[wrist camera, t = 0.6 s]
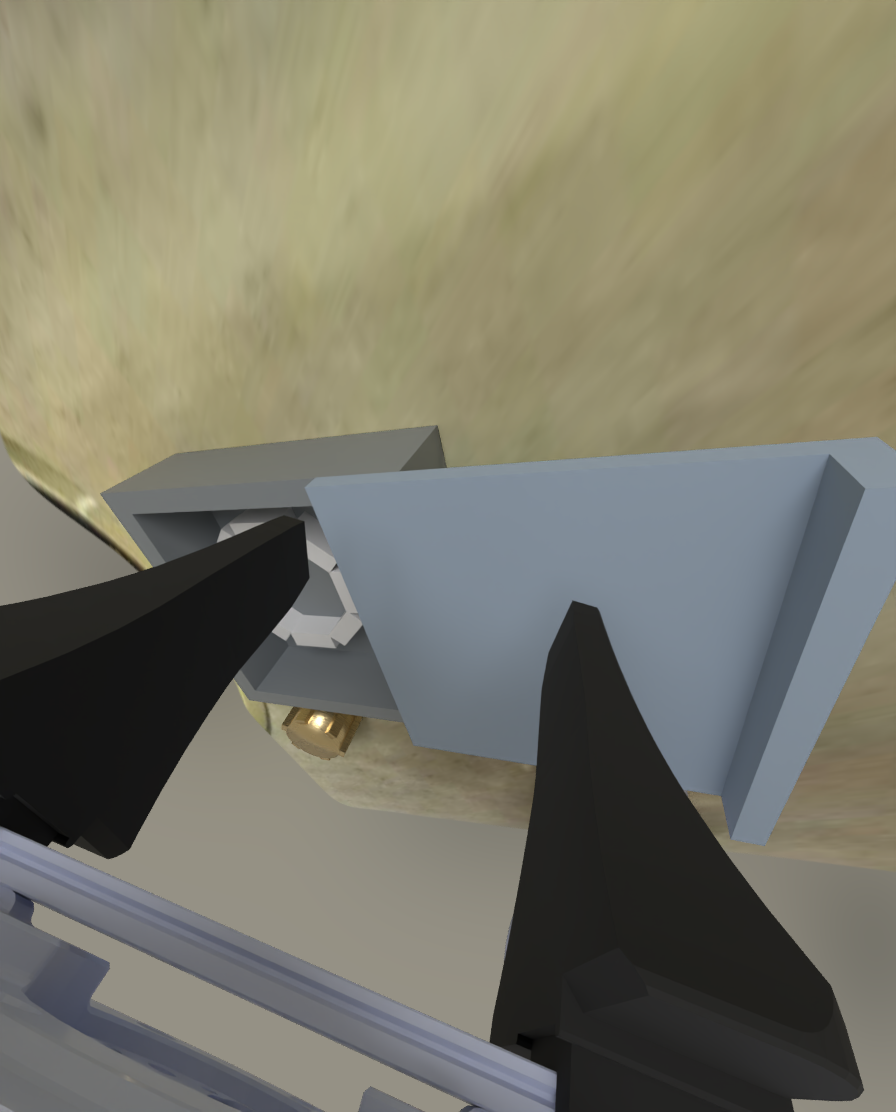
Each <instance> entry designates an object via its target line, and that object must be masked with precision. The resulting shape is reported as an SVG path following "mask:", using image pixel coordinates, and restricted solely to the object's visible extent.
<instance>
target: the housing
mask: <svg viewBox="0 0 896 1112" xmlns="http://www.w3.org/2000/svg"><path fill="white" fill-rule="evenodd" d="M440 468H446V463H445V459H444V454H443V449H442V445H441V440H440V435H439V430H438V426H437V425H436V426H427V427H417V428H408V429H399V430H390V431H381V432H371V433H362V434H353V435H344V436H335V437H325V438H316V439H307V440H298V441H289V442H279V443H270V444H261V445H252V446H243V447H233V448H224V449H215V450H206V451H197V452H188V453H178V454H174V455H172V456H170V457H168V458H167V459H165V460H163V461H161V462H159V463H157V464H155V465H153V466H151V467H149V468H148V469H146V470H144V471H142V472H140V473H138V474H136V475H134V476H132V477H131V478H129V479H127V480H125V481H123V482H121V483H119V484H117V485H115V486H113V487H112V488H110V489H108V490H106V491H104V492H102V493H100V494H101V496H102V497H103V499H104V500H105V501H106V503H107V504H108V505H109V507H110V508H111V510H112V511H113V512H114V514H115V515H116V517H117V518H118V519H119V521H120V522H121V523H122V525H123V526H124V528H125V529H126V530H127V532H128V533H129V534H130V536H131V537H132V539H133V540H134V541H135V543H136V544H137V546H138V547H139V548H140V550H141V551H142V552H143V554H144V555H145V557H146V558H147V559H148V561H149V562H150V563H151V565H152V566H153V567H155V566H158V565H161V564H164V563H167V562H169V561H172V560H174V559H177V558H180V557H182V556H185V555H188V554H190V553H193V552H196V551H198V550H201V549H203V548H206V547H208V546H211V545H213V544H215V543H218V542H220V541H222V540H225V539H227V538H230V537H232V536H234V535H237V534H239V533H241V532H244V531H246V530H248V529H251V528H253V527H255V526H258V525H260V524H262V523H265V522H267V521H270V520H272V519H275V518H278V517H280V516H283V515H285V516H289V517H292V518H295V519H299V520H302V521H305V532H306V543H307V554H308V565H309V576H310V578H309V580H308V582H307V583H306V585H305V587H304V588H303V590H302V592H301V593H300V595H299V596H298V598H297V600H296V601H295V603H294V604H293V606H292V607H291V609H290V610H289V611H288V612H287V614H286V615H285V616H284V617H283V619H282V620H281V621H280V622H279V623H278V625H277V626H276V627H275V628H274V630H273V631H272V632H271V633H270V634H269V636H268V637H267V638H266V639H265V640H264V642H263V643H262V644H261V645H260V646H259V648H258V649H257V650H256V651H255V652H254V654H253V655H252V656H251V657H250V658H249V660H248V661H247V662H246V663H245V664H244V666H243V667H242V668H241V669H240V670H239V672H238V673H237V674H236V675H235V677H234V680H235V681H236V682H237V684H238V685H239V686H240V688H241V689H242V691H243V692H244V693H245V695H246V696H247V698H248V699H249V700H252V701H259V702H266V703H273V704H280V705H287V706H294V707H301V708H307V709H314V710H321V711H328V712H335V713H342V714H349V715H356V716H363V717H369V718H376V719H383V720H390V721H397V722H404V721H403V719H402V717H401V714H400V712H399V710H398V707H397V705H396V702H395V700H394V698H393V695H392V693H391V691H390V688H389V686H388V684H387V681H386V679H385V676H384V674H383V672H382V669H381V667H380V665H379V662H378V660H377V658H376V655H375V653H374V650H373V648H372V646H371V643H370V641H369V639H368V636H367V634H366V632H365V629H364V627H363V624H362V622H361V620H360V617H359V615H358V613H357V610H356V608H355V606H354V603H353V601H352V598H351V596H350V594H349V591H348V589H347V587H346V584H345V582H344V580H343V577H342V575H341V572H340V570H339V568H338V565H337V563H336V561H335V558H334V556H333V554H332V551H331V549H330V546H329V544H328V542H327V539H326V537H325V535H324V532H323V530H322V527H321V525H320V523H319V520H318V518H317V516H316V513H315V511H314V509H313V506H312V504H311V501H310V499H309V497H308V494H307V492H306V490H305V487H306V486H307V485H308V484H309V483H310V482H311V481H312V480H314V479H315V478H316V477H330V476H344V475H357V474H371V473H385V472H399V471H413V470H427V469H440Z"/></svg>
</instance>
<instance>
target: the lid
mask: <svg viewBox="0 0 896 1112" xmlns="http://www.w3.org/2000/svg"><path fill="white" fill-rule="evenodd" d="M305 490H306V492H307V494H308V497H309V499H310V501H311V504H312V506H313V509H314V511H315V513H316V516H317V518H318V520H319V523H320V525H321V527H322V530H323V532H324V535H325V537H326V539H327V542H328V544H329V546H330V549H331V551H332V554H333V556H334V558H335V561H336V563H337V565H338V568H339V570H340V572H341V575H342V577H343V580H344V582H345V584H346V587H347V589H348V591H349V594H350V596H351V598H352V601H353V603H354V606H355V608H356V610H357V613H358V615H359V617H360V620H361V622H362V624H363V627H364V629H365V632H366V634H367V636H368V639H369V641H370V643H371V646H372V648H373V650H374V653H375V655H376V658H377V660H378V662H379V665H380V667H381V669H382V672H383V674H384V676H385V679H386V681H387V684H388V686H389V688H390V691H391V693H392V695H393V698H394V700H395V702H396V705H397V707H398V710H399V712H400V714H401V717H402V719H403V721H404V724H405V726H406V728H407V731H408V733H409V736H410V738H411V740H412V743H413V745H414V746H420V747H426V748H432V749H438V750H444V751H450V752H456V753H462V754H469V755H475V756H481V757H487V758H493V759H499V760H505V761H511V762H517V763H524V764H530V765H536V766H537V750H538V734H539V718H540V704H541V690H542V684H543V678H544V673H545V667H546V662H547V657H548V652H549V650H550V648H551V646H552V644H553V641H554V639H555V637H556V635H557V633H558V631H559V628H560V626H561V624H562V622H563V620H564V618H565V615H566V613H567V611H568V609H569V607H570V604H571V602H572V600H573V601H577V602H580V603H584V604H587V605H590V606H594V607H597V608H598V610H599V611H600V614H601V617H602V620H603V623H604V626H605V629H606V631H607V634H608V637H609V640H610V643H611V645H612V648H613V651H614V653H615V656H616V658H617V661H618V663H619V666H620V668H621V671H622V673H623V675H624V678H625V680H626V682H627V685H628V687H629V689H630V692H631V694H632V696H633V698H634V700H635V703H636V705H637V707H638V709H639V711H640V713H641V715H642V717H643V719H644V721H645V723H646V725H647V727H648V729H649V731H650V733H651V735H652V737H653V739H654V741H655V742H656V744H657V746H658V748H659V750H660V751H661V753H662V755H663V757H664V758H665V760H666V762H667V764H668V765H669V767H670V769H671V771H672V772H673V774H674V776H675V777H676V779H677V780H678V782H679V784H680V785H681V787H682V789H683V790H688V791H694V792H701V793H707V794H713V795H719V796H721V797H722V802H723V806H724V811H725V816H726V820H727V825H728V829H729V834H730V839H731V840H736V841H742V842H747V843H752V844H757V845H762V846H765V844H766V842H767V840H768V838H769V836H770V834H771V832H772V830H773V828H774V826H775V824H776V822H777V820H778V818H779V816H780V814H781V812H782V810H783V808H784V806H785V804H786V802H787V800H788V798H789V796H790V794H791V791H792V789H793V787H794V785H795V783H796V781H797V779H798V777H799V775H800V773H801V771H802V769H803V767H804V765H805V763H806V761H807V759H808V757H809V755H810V753H811V751H812V749H813V747H814V745H815V743H816V741H817V739H818V737H819V735H820V733H821V731H822V729H823V727H824V725H825V723H826V720H827V718H828V716H829V714H830V712H831V710H832V708H833V706H834V704H835V702H836V700H837V698H838V696H839V694H840V692H841V690H842V688H843V686H844V684H845V682H846V680H847V678H848V676H849V674H850V672H851V670H852V668H853V666H854V664H855V662H856V660H857V658H858V656H859V654H860V652H861V649H862V647H863V645H864V643H865V641H866V639H867V637H868V635H869V633H870V631H871V629H872V627H873V625H874V623H875V621H876V619H877V617H878V615H879V613H880V611H881V609H882V607H883V605H884V603H885V601H886V599H887V597H888V595H889V593H890V591H891V589H892V587H893V585H894V583H895V581H896V451H895V450H894V449H893V448H891V447H890V446H889V445H887V444H886V443H885V442H883V441H882V440H881V439H879V438H878V437H869V438H856V439H842V440H828V441H814V442H800V443H786V444H773V445H759V446H745V447H731V448H717V449H703V450H690V451H676V452H662V453H648V454H634V455H620V456H607V457H593V458H579V459H565V460H551V461H537V462H524V463H510V464H496V465H482V466H468V467H454V468H440V469H427V470H413V471H399V472H385V473H371V474H357V475H344V476H330V477H316V478H315V479H314V480H312V481H311V482H310V483H309V484H308V485H307V486H306V487H305Z"/></svg>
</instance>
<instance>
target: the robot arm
mask: <svg viewBox="0 0 896 1112" xmlns="http://www.w3.org/2000/svg"><path fill="white" fill-rule="evenodd" d="M309 578H310V576H309V565H308V554H307V543H306V532H305V521H302V520H299V519H295V518H292V517H289V516H285V515H283V516H280V517H278V518H275V519H272V520H270V521H267V522H265V523H262V524H260V525H258V526H255V527H253V528H251V529H248V530H246V531H244V532H241V533H239V534H237V535H234V536H232V537H230V538H227V539H225V540H222V541H220V542H218V543H215V544H213V545H211V546H208V547H206V548H203V549H201V550H198V551H196V552H193V553H190V554H188V555H185V556H182V557H180V558H177V559H174V560H172V561H169V562H167V563H164V564H161V565H158V566H155V567H153V568H150V569H147V570H144V571H141V572H137V573H135V574H131V575H128V576H124V577H121V578H118V579H114V580H111V581H108V582H104V583H100V584H97V585H92V586H88V587H84V588H81V589H76V590H72V591H68V592H64V593H60V594H56V595H52V596H48V597H43V598H39V599H34V600H29V601H24V602H19V603H14V604H8V605H3V606H0V1112H325V1111H323V1110H321V1109H319V1108H317V1107H315V1106H313V1105H311V1104H309V1103H307V1102H305V1101H304V1100H302V1099H299V1098H298V1097H296V1096H294V1095H292V1094H290V1093H288V1092H286V1091H284V1090H282V1089H280V1088H278V1087H276V1086H274V1085H272V1084H271V1083H269V1082H266V1081H264V1080H262V1079H261V1078H258V1077H257V1076H254V1075H252V1074H251V1073H249V1072H246V1071H244V1070H242V1069H240V1068H238V1067H236V1066H234V1065H232V1064H230V1063H228V1062H226V1061H224V1060H222V1059H220V1058H217V1057H215V1056H213V1055H211V1054H209V1053H207V1052H205V1051H203V1050H201V1049H198V1048H196V1047H194V1046H192V1045H190V1044H188V1043H186V1042H184V1041H181V1040H179V1039H177V1038H175V1037H173V1036H170V1035H168V1034H166V1033H164V1032H162V1031H160V1030H158V1029H155V1028H153V1027H151V1026H149V1025H147V1024H145V1023H142V1022H140V1021H138V1020H136V1019H134V1018H132V1017H129V1016H127V1015H125V1014H123V1013H121V1012H119V1011H116V1010H114V1009H112V1008H110V1007H108V1006H105V1005H103V1004H101V1003H99V1002H97V1001H95V1000H93V999H91V997H92V995H93V993H94V992H95V990H96V988H97V987H98V985H99V984H100V983H101V981H102V979H103V978H104V977H105V975H106V973H107V972H108V970H109V969H110V965H109V964H110V963H109V962H107V961H105V960H103V959H101V958H99V957H97V956H95V955H93V954H91V953H89V952H87V951H85V950H83V949H80V948H78V947H76V946H74V945H72V944H70V943H68V942H65V941H63V940H61V939H59V938H57V937H55V936H53V935H51V934H48V933H46V932H44V931H42V930H40V929H38V928H35V927H34V926H33V925H32V923H31V917H32V914H33V912H34V903H33V902H32V901H34V902H36V903H38V904H40V905H42V906H44V907H47V908H49V909H51V910H53V911H56V912H57V913H59V914H62V915H64V916H66V917H68V918H70V919H72V920H75V921H77V922H79V923H81V924H83V925H85V926H88V927H90V928H92V929H94V930H96V931H98V932H100V933H103V934H105V935H107V936H109V937H111V938H113V939H115V940H118V941H120V942H122V943H124V944H126V945H128V946H130V947H133V948H135V949H137V950H139V951H141V952H144V953H146V954H148V955H150V956H152V957H154V958H156V959H158V960H161V961H163V962H165V963H167V964H169V965H171V966H174V967H176V968H178V969H180V970H182V971H184V972H187V973H189V974H191V975H193V976H195V977H197V978H199V979H202V980H204V981H206V982H208V983H210V984H212V985H214V986H217V987H219V988H221V989H223V990H225V991H227V992H229V993H232V994H234V995H236V996H238V997H240V998H242V999H245V1000H247V1001H249V1002H251V1003H253V1004H255V1005H258V1006H260V1007H262V1008H264V1009H266V1010H268V1011H270V1012H273V1013H275V1014H277V1015H279V1016H281V1017H283V1018H286V1019H288V1020H290V1021H292V1022H294V1023H296V1024H298V1025H300V1026H303V1027H305V1028H307V1029H309V1030H311V1031H313V1032H315V1033H318V1034H320V1035H322V1036H324V1037H326V1038H328V1039H331V1040H333V1041H335V1042H337V1043H339V1044H341V1045H343V1046H346V1047H348V1048H350V1049H352V1050H354V1051H356V1052H359V1053H361V1054H363V1055H365V1056H367V1057H369V1058H371V1059H374V1060H376V1061H378V1062H380V1063H382V1064H384V1065H387V1066H389V1067H391V1068H393V1069H395V1070H397V1071H399V1072H402V1073H404V1074H406V1075H408V1076H410V1077H412V1078H414V1079H417V1080H419V1081H421V1082H423V1083H426V1084H427V1085H430V1086H432V1087H434V1088H436V1089H438V1090H440V1091H443V1092H445V1093H447V1094H449V1095H451V1096H453V1097H455V1098H457V1099H460V1100H462V1101H464V1102H466V1103H468V1104H470V1105H473V1106H466V1107H464V1108H463V1109H461V1110H460V1112H794V1110H793V1105H792V1101H791V1099H807V1100H825V1101H852V1100H854V1099H856V1098H858V1097H859V1096H860V1095H861V1094H862V1092H863V1091H864V1088H863V1084H862V1080H861V1077H860V1074H859V1070H858V1067H857V1063H856V1060H855V1057H854V1053H853V1050H852V1046H851V1043H850V1040H849V1036H848V1033H847V1029H846V1026H845V1023H844V1021H843V1018H842V1015H841V1012H840V1010H839V1006H838V1004H837V1001H836V998H835V996H834V993H833V990H832V988H831V985H830V984H829V983H828V982H827V980H826V979H825V978H824V977H823V976H822V974H821V973H820V972H819V971H818V969H817V968H816V967H815V966H814V965H813V963H812V962H811V961H810V960H809V958H808V957H807V956H806V955H805V954H804V952H803V951H802V950H801V949H800V948H799V946H798V945H797V944H796V943H795V941H794V940H793V939H792V938H791V937H790V935H789V934H788V933H787V932H786V930H785V929H784V928H783V927H782V926H781V924H780V923H779V922H778V921H777V919H776V918H775V917H774V916H773V915H772V914H771V912H770V911H769V910H768V908H767V907H766V906H765V905H764V903H763V902H762V901H761V899H760V898H759V897H758V895H757V894H756V893H755V892H754V890H753V889H752V887H751V886H750V885H749V883H748V882H747V881H746V879H745V878H744V877H743V875H742V874H741V873H740V872H739V871H738V869H737V868H736V866H735V865H734V864H733V862H732V861H731V859H730V858H729V857H728V856H727V854H726V853H725V851H724V850H723V848H722V847H721V845H720V844H719V842H718V841H717V839H716V838H715V837H714V835H713V834H712V832H711V831H710V829H709V828H708V826H707V825H706V823H705V822H704V820H703V819H702V818H701V816H700V815H699V813H698V812H697V810H696V809H695V807H694V806H693V804H692V803H691V801H690V800H689V798H688V793H687V790H683V789H682V787H681V785H680V784H679V782H678V780H677V779H676V777H675V776H674V774H673V772H672V771H671V769H670V767H669V765H668V764H667V762H666V760H665V758H664V757H663V755H662V753H661V751H660V750H659V748H658V746H657V744H656V742H655V741H654V739H653V737H652V735H651V733H650V731H649V729H648V727H647V725H646V723H645V721H644V719H643V717H642V715H641V713H640V711H639V709H638V707H637V705H636V703H635V700H634V698H633V696H632V694H631V692H630V689H629V687H628V685H627V682H626V680H625V678H624V675H623V673H622V671H621V668H620V666H619V663H618V661H617V658H616V656H615V653H614V651H613V648H612V645H611V643H610V640H609V637H608V634H607V631H606V629H605V626H604V623H603V620H602V617H601V614H600V611H599V610H598V608H597V607H594V606H590V605H587V604H584V603H580V602H577V601H573V600H572V602H571V604H570V607H569V609H568V611H567V613H566V615H565V618H564V620H563V622H562V624H561V626H560V628H559V631H558V633H557V635H556V637H555V639H554V641H553V644H552V646H551V648H550V650H549V652H548V657H547V662H546V667H545V673H544V678H543V684H542V690H541V704H540V718H539V734H538V750H537V766H536V779H535V789H534V797H533V804H532V810H531V816H530V822H529V829H528V835H527V841H526V847H525V852H524V859H523V865H522V870H521V876H520V881H519V887H518V892H517V898H516V903H515V909H514V914H513V917H512V920H511V923H510V927H509V930H508V935H507V940H506V947H505V956H504V965H503V970H502V976H501V981H500V986H499V990H498V995H497V1000H496V1005H495V1009H494V1014H493V1021H492V1028H491V1035H490V1043H489V1042H487V1041H485V1040H483V1039H480V1038H478V1037H476V1036H473V1035H471V1034H469V1033H467V1032H464V1031H462V1030H460V1029H458V1028H455V1027H453V1026H451V1025H449V1024H446V1023H444V1022H442V1021H439V1020H437V1019H435V1018H433V1017H431V1016H428V1015H426V1014H424V1013H421V1012H419V1011H417V1010H415V1009H412V1008H410V1007H408V1006H406V1005H403V1004H401V1003H399V1002H396V1001H394V1000H392V999H390V998H388V997H385V996H383V995H381V994H379V993H376V992H374V991H372V990H369V989H367V988H365V987H362V986H360V985H358V984H356V983H354V982H351V981H349V980H347V979H344V978H342V977H340V976H338V975H336V974H333V973H331V972H329V971H326V970H324V969H322V968H320V967H317V966H315V965H313V964H310V963H308V962H306V961H304V960H302V959H299V958H297V957H295V956H292V955H290V954H288V953H286V952H283V951H281V950H279V949H277V948H275V947H272V946H270V945H268V944H266V943H263V942H261V941H259V940H256V939H254V938H252V937H250V936H247V935H245V934H243V933H241V932H238V931H236V930H234V929H232V928H229V927H227V926H225V925H223V924H220V923H218V922H216V921H213V920H211V919H209V918H207V917H205V916H202V915H200V914H198V913H195V912H193V911H191V910H189V909H186V908H184V907H182V906H180V905H177V904H175V903H173V902H171V901H168V900H166V899H164V898H162V897H159V896H157V895H155V894H153V893H150V892H148V891H146V890H144V889H141V888H139V887H137V886H134V885H132V884H130V883H128V882H125V881H123V880H121V879H118V878H116V877H114V876H111V875H110V874H107V873H105V872H103V871H100V870H98V869H96V868H94V867H91V866H89V865H87V864H84V863H82V862H80V861H78V860H76V859H73V858H71V857H69V856H67V855H64V854H62V853H60V852H58V851H55V850H53V849H51V848H48V847H47V846H48V845H49V844H50V843H51V842H52V841H53V842H55V843H57V844H60V845H62V846H64V847H66V848H69V847H71V846H72V845H73V844H75V845H76V846H79V847H81V848H84V849H86V850H88V851H90V852H93V853H95V854H97V855H99V856H102V857H104V858H106V859H111V858H114V857H117V856H119V855H121V854H123V853H125V852H126V851H128V850H129V849H130V848H131V846H132V844H133V842H134V840H135V838H136V836H137V834H138V832H139V831H140V829H141V827H142V825H143V823H144V821H145V820H146V818H147V816H148V814H149V812H150V811H151V809H152V807H153V805H154V803H155V801H156V800H157V798H158V796H159V794H160V792H161V791H162V789H163V787H164V785H165V784H166V782H167V780H168V779H169V777H170V775H171V774H172V772H173V770H174V768H175V767H176V765H177V764H178V761H179V760H180V758H181V757H182V755H183V753H184V752H185V750H186V748H187V747H188V745H189V743H190V742H191V741H192V739H193V738H194V736H195V734H196V733H197V731H198V730H199V728H200V727H201V725H202V723H203V722H204V720H205V719H206V717H207V716H208V714H209V713H210V711H211V710H212V708H213V707H214V705H215V704H216V702H217V701H218V699H219V698H220V696H221V695H222V693H223V692H224V690H225V689H226V687H227V686H228V685H229V683H230V682H231V681H232V679H233V678H234V677H235V675H236V674H237V673H238V672H239V670H240V669H241V668H242V667H243V666H244V664H245V663H246V662H247V661H248V660H249V658H250V657H251V656H252V655H253V654H254V652H255V651H256V650H257V649H258V648H259V646H260V645H261V644H262V643H263V642H264V640H265V639H266V638H267V637H268V636H269V634H270V633H271V632H272V631H273V630H274V628H275V627H276V626H277V625H278V623H279V622H280V621H281V620H282V619H283V617H284V616H285V615H286V614H287V612H288V611H289V610H290V609H291V607H292V606H293V604H294V603H295V601H296V600H297V598H298V596H299V595H300V593H301V592H302V590H303V588H304V587H305V585H306V583H307V582H308V580H309ZM31 900H32V901H31ZM358 1112H424V1111H422V1110H420V1109H418V1108H416V1107H413V1106H411V1105H409V1104H407V1103H405V1102H403V1101H401V1100H398V1099H397V1098H394V1097H392V1096H390V1095H388V1094H386V1093H384V1092H382V1091H379V1090H377V1089H375V1088H373V1087H369V1088H368V1089H367V1090H365V1092H364V1093H363V1096H362V1100H361V1104H360V1108H359V1111H358Z"/></svg>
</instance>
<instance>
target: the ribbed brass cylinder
mask: <svg viewBox="0 0 896 1112" xmlns="http://www.w3.org/2000/svg"><path fill="white" fill-rule="evenodd" d="M362 718H363V716H356V715H349V714H342V713H335V712H328V711H321V710H314V709H307V708H301V707H293V708H292V710H291V711H290V713H289V714H288V716H287V717H286V719H285V721H284V722H283V724H282V730H285V731H286V733H287V736H288V737H289V739H290V740H291V741H292V744H293V745H294V746H296V747H297V748H298V749H302V750H303V751H305V752H307V753H309V754H312V755H314V756H317V757H320V758H321V759H324V760H330V758H335V757H336V756H337V755H340V756H342V757H344V755H345V753H346V751H347V749H348V747H349V745H350V743H351V741H352V739H353V737H354V734H355V732H356V730H357V728H358V726H359V724H360V722H361V720H362Z"/></svg>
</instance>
